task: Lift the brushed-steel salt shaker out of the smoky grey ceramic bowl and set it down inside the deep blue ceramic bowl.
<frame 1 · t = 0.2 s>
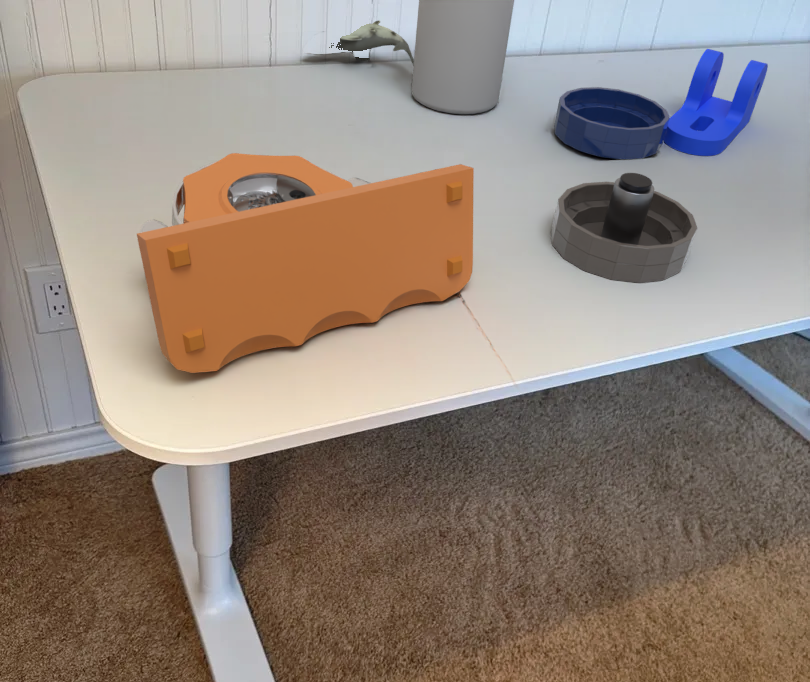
grey-green dolphin figure: (355, 27, 121), point 6 cm above the table
desk clock: (336, 268, 69), point 7 cm above the table
cylinder vase: (454, 100, 118), on the table
blue bowl: (605, 140, 111), on the table
bracket: (702, 133, 116), on the table
grey bowl: (616, 251, 89), on the table
shaker: (617, 246, 88), point 1 cm above the table, touching grey bowl
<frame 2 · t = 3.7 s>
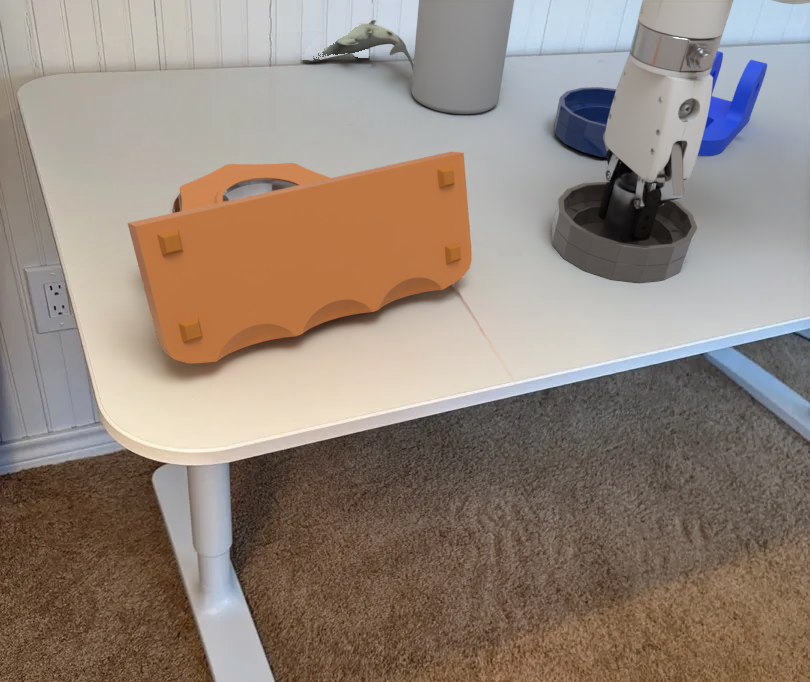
hand: (623, 226, 87), 3 cm above the table, tool pointing down, fingers closed on shaker, 4 cm apart
desk clock: (331, 254, 69), point 8 cm above the table
shaker: (617, 246, 88), point 1 cm above the table, touching grey bowl, gripper
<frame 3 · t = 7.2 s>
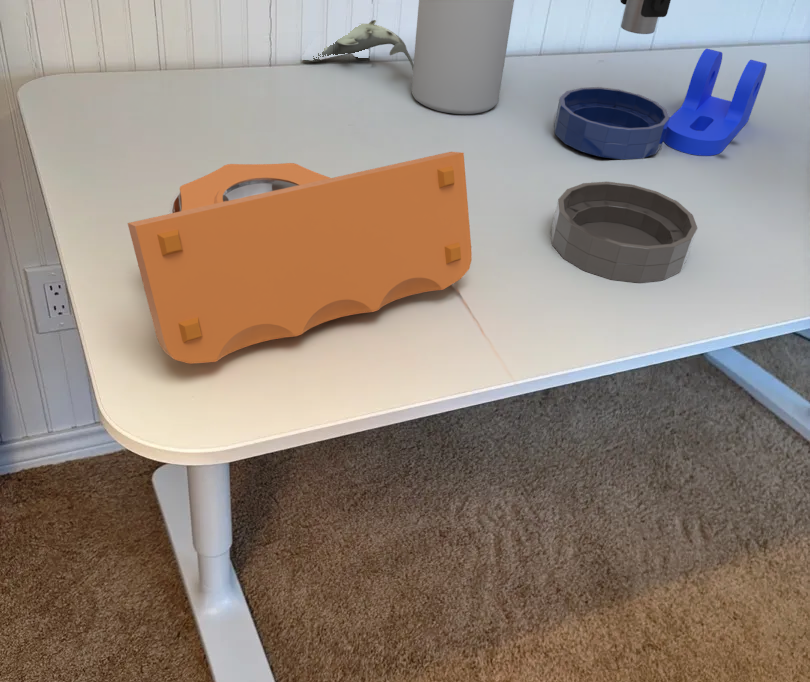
hand: (643, 8, 97), 18 cm above the table, tool pointing down, fingers closed on shaker, 4 cm apart
shaker: (637, 28, 98), point 15 cm above the table, touching gripper
everything else where it was.
when the fingers open (3 cm above the table, at t = 11.0 s): shaker stays where it is, resting on blue bowl.
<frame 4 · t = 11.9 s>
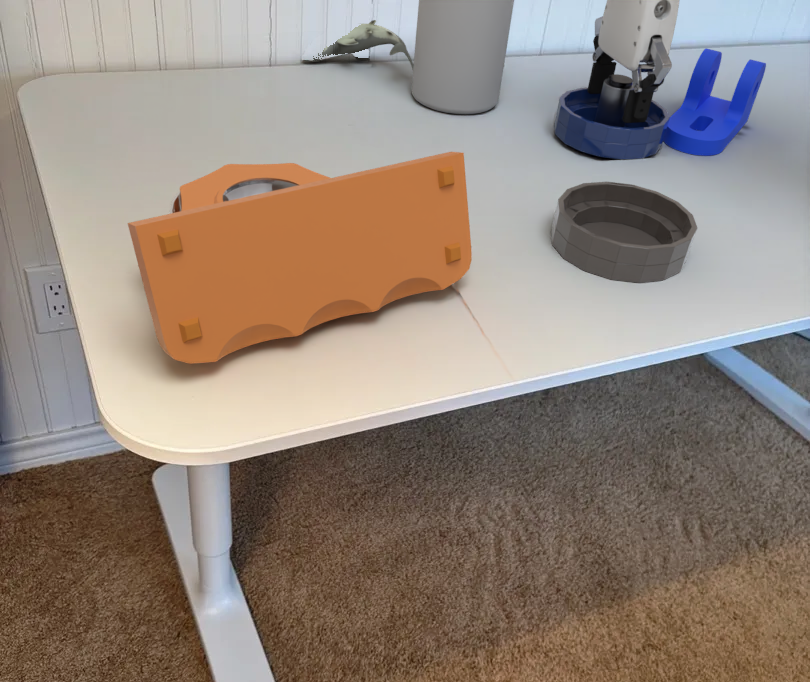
hand: (615, 107, 108), 5 cm above the table, tool pointing down, fingers open, 9 cm apart
shaker: (606, 136, 111), point 1 cm above the table, touching blue bowl
everything else where it was.
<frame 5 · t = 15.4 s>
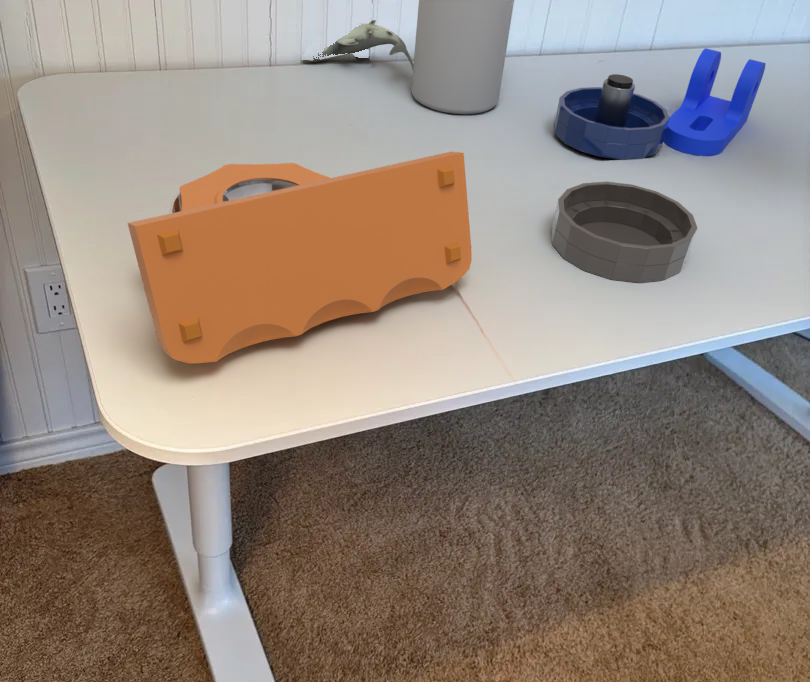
nothing on the table moved.
at the end: shaker inside the target area in the blue bowl (0.1 cm from its centre), point 0.6 cm above the blue bowl's base; shaker tilted 0°; the gripper is holding nothing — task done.
